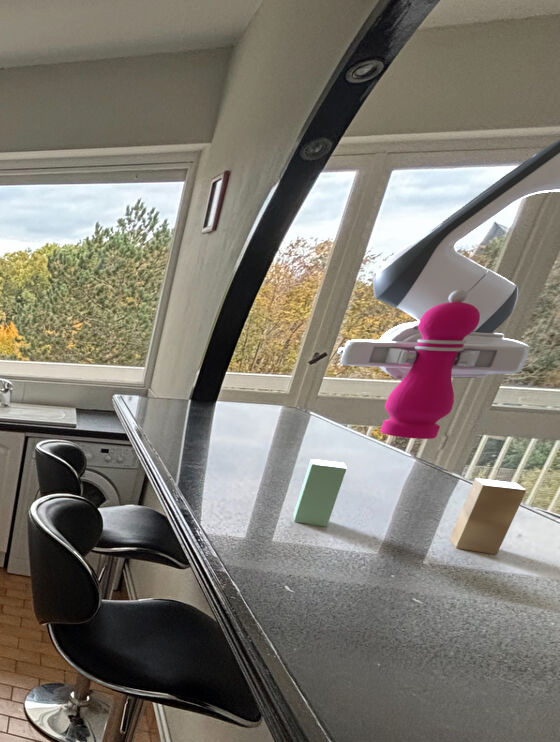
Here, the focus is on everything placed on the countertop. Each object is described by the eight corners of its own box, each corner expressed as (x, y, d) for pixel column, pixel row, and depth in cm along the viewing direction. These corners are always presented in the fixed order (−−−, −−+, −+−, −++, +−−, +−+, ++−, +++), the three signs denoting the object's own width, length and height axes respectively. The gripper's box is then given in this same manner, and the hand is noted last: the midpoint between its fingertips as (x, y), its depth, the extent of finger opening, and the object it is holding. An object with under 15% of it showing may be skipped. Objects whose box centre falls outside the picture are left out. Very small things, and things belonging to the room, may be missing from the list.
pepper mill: (417, 441, 84) (474, 289, 76) (363, 431, 90) (411, 290, 83) (453, 438, 86) (512, 289, 78) (398, 428, 92) (447, 290, 85)
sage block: (324, 519, 91) (344, 462, 87) (326, 527, 88) (346, 468, 84) (293, 514, 93) (310, 458, 89) (293, 521, 90) (312, 464, 86)
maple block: (488, 545, 81) (516, 482, 78) (496, 554, 78) (526, 490, 75) (448, 539, 83) (474, 478, 80) (455, 548, 80) (483, 484, 77)
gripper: (342, 330, 98) (350, 333, 87) (517, 333, 87) (550, 337, 77) (330, 369, 100) (336, 376, 90) (499, 377, 90) (529, 387, 79)
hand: (437, 358), depth 83 cm, fingers closed on pepper mill, 4 cm apart
